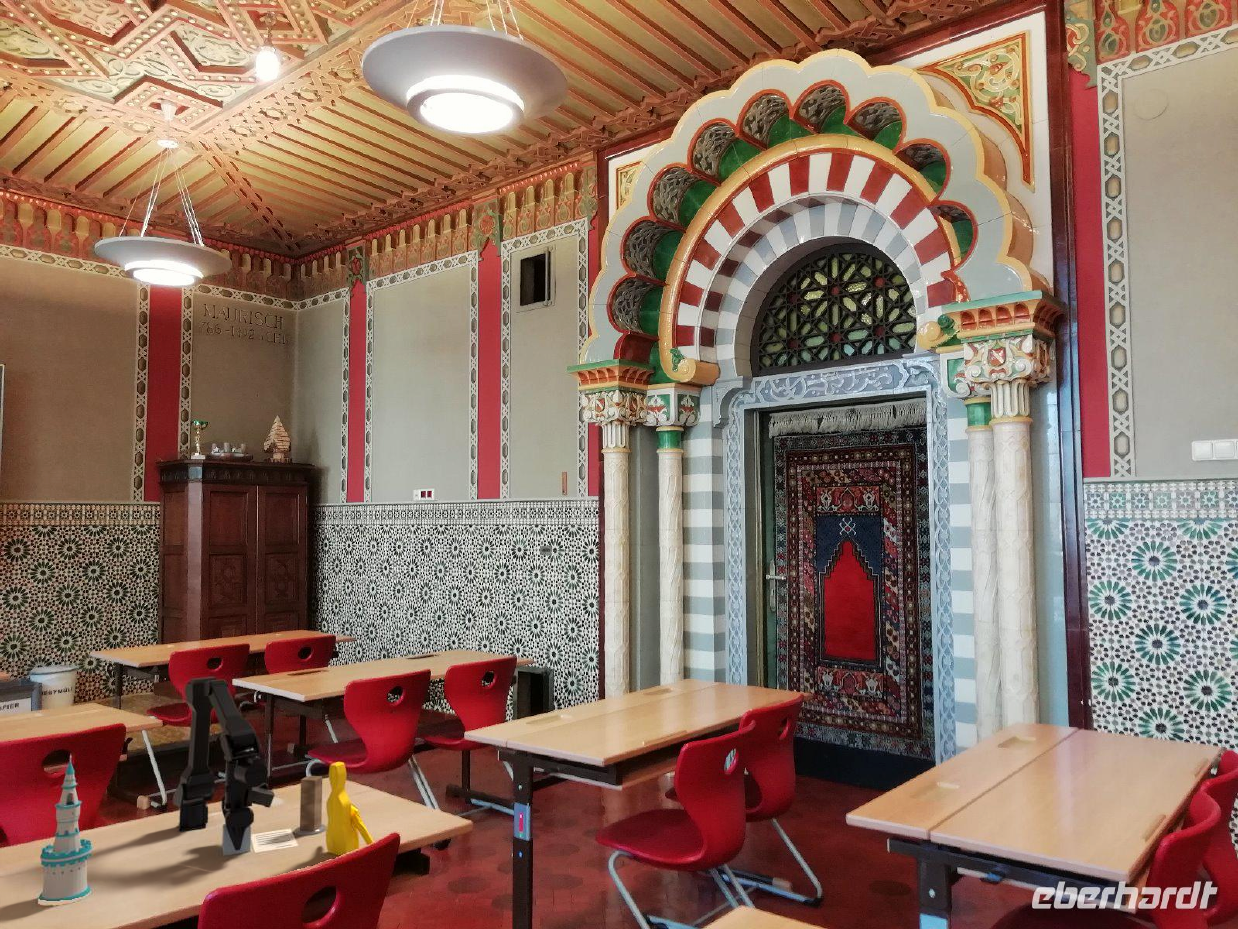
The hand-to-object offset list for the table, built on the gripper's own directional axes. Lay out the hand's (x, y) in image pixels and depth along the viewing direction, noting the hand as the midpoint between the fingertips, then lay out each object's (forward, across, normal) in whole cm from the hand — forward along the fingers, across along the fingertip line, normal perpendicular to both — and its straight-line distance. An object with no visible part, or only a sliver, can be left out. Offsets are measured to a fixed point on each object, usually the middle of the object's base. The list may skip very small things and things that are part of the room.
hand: (236, 844), depth 218 cm
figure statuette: (+2, -15, -23) cm, 28 cm away
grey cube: (+2, 0, 0) cm, 2 cm away
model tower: (+2, -13, +35) cm, 37 cm away
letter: (+1, +3, -9) cm, 10 cm away
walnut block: (+1, +6, -18) cm, 20 cm away
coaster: (+1, +6, -18) cm, 20 cm away
